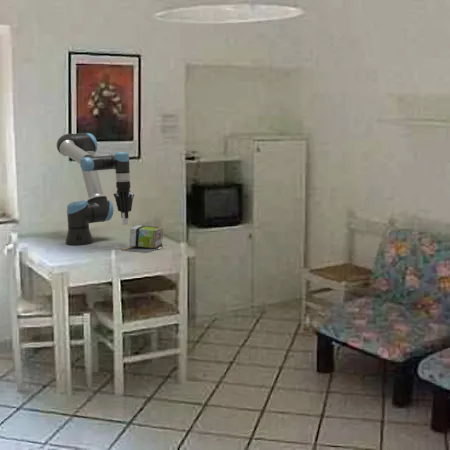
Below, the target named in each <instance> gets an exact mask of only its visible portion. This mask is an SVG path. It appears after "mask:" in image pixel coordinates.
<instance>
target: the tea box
mask: <svg viewBox="0 0 450 450" xmlns="http://www.w3.org/2000/svg"><path fill="white" fill-rule="evenodd" d="M163 233H164V227H163V226H160V227H159V226H150V225H140V224H137V225H135V226H132V227H131V228H130V229H129V247H132V246H137V247H147V248H157V247H161V246H162V245H163ZM161 244H162V245H161Z"/></svg>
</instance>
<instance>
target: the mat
mask: <svg viewBox="0 0 450 450" xmlns="http://www.w3.org/2000/svg"><path fill="white" fill-rule="evenodd" d="M159 247H160V246H159ZM159 247H157V248H147V247H135V248H132V249H128V250H126V251H127V252H134V253H135V252H136V253H144V254H147V253H152V252H154V250H155V251H157V250H156V249H158V248H159ZM158 250H159V249H158Z"/></svg>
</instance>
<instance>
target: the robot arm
mask: <svg viewBox="0 0 450 450" xmlns="http://www.w3.org/2000/svg"><path fill="white" fill-rule="evenodd" d="M56 150H57V151H58V153H59V154H61V155H62V156H63V157H68V158H70V159H71V160H73V161H75V162H76V163H77V164H79V165H80V168H81V172H82V176H83V177H82V178H83V179H84V180H83V181H84V184H85V189H86V193H87V197H88V199H87V200H76V201H72V202H70V203H69V204H67V206H66V216H67V226H68V227H67V228H68V229H67V232H66V233H67V235H66V238H65V244H66V245H67V246H68V245H69V246H81V245H89V244H93V242H94V238H93V236H92V233H91V231H90V224H94V223H101V222H102V223H104V222H108V221H110V220H112V218H113V215H114V210H115V209H114V204H113V202H112V201H111V200H108V197H107V196H106V195H105V194H104V192H103V191H104V190H103V188H102V183H101V181H100V176H99V172H98V171H107V170H115V181H116V182H115V185H116V186H115V187H116V192H115V193H113V197H114V199H115V204H116V207H117V208H116V209H117V211H118V212H120V215H121V216H120V217H121V219H122V225H123V226H125V225H129V212H131V211H132V208H133V207H132V206H133V200H134V197H135V194H134V193H132V192H131V181H130V180H131V176H130V175H131V174H130V173H131V171H130V156H129V155H130V154H129V153H128V152H127V151H119V152H115V153H114V155H113V154H109V155H100V156H97V155H96V154H97V153H96V152H97V151H98V141H97V139H96V137H95V136H94V134H92V133H90V132H81V133H65V134H63V135H62V136H60V137H59V138H58V139H57V141H56ZM95 155H96V156H95Z"/></svg>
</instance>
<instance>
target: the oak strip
mask: <svg viewBox="0 0 450 450" xmlns="http://www.w3.org/2000/svg"><path fill="white" fill-rule="evenodd" d="M135 247H137V246H129V247H128V246H127V247H125V248H121V251H122V252H123V251H124V252H125V251H126V250H128V249H132V248H135Z"/></svg>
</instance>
